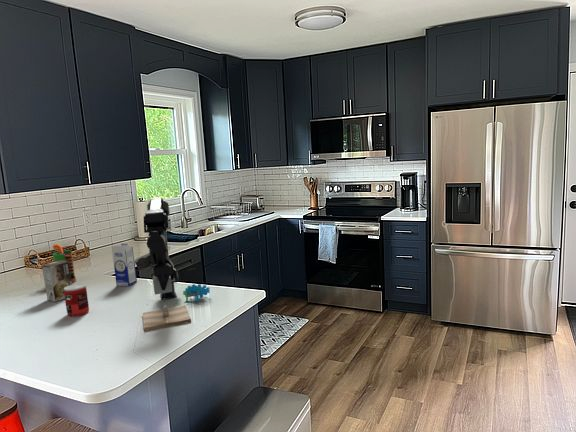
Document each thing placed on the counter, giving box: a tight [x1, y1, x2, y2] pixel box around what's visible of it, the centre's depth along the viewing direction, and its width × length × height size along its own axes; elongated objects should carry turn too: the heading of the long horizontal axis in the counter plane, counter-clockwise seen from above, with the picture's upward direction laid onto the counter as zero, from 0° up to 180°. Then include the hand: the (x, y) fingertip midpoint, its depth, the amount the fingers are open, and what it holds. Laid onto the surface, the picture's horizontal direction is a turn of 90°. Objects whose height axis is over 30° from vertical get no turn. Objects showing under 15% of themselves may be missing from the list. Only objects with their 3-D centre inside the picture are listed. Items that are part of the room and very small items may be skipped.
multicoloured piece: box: [52, 243, 77, 284], centre depth 216 cm, size 10×9×20 cm
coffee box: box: [41, 260, 73, 302], centre depth 191 cm, size 9×6×16 cm
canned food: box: [64, 283, 90, 317], centre depth 170 cm, size 8×8×11 cm
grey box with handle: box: [152, 275, 172, 295], centre depth 156 cm, size 6×6×6 cm
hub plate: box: [142, 305, 192, 332], centre depth 157 cm, size 16×16×5 cm
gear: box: [182, 283, 210, 303], centre depth 176 cm, size 11×6×10 cm
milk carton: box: [111, 243, 138, 287], centre depth 206 cm, size 7×7×20 cm
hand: (162, 287), depth 156 cm, fingers closed on grey box with handle, 6 cm apart
